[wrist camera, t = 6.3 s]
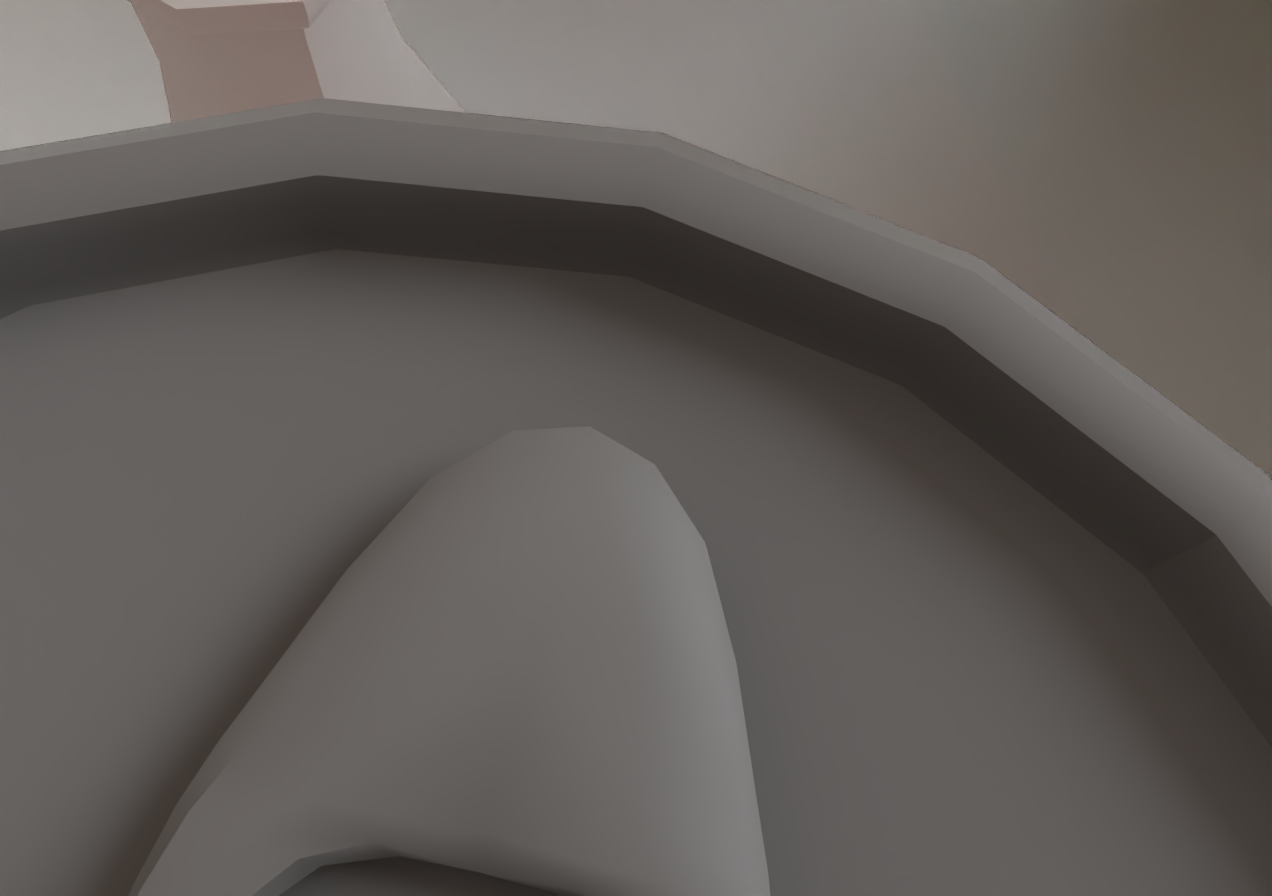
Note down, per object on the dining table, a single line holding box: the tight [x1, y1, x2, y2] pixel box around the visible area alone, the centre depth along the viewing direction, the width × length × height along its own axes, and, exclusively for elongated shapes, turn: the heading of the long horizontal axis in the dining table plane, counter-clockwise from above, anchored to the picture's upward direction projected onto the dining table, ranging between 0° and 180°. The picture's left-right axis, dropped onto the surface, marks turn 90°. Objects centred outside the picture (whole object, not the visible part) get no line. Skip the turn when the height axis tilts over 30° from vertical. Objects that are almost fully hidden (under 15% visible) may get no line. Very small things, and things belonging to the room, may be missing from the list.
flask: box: [128, 0, 466, 123], centre depth 17 cm, size 7×7×10 cm
